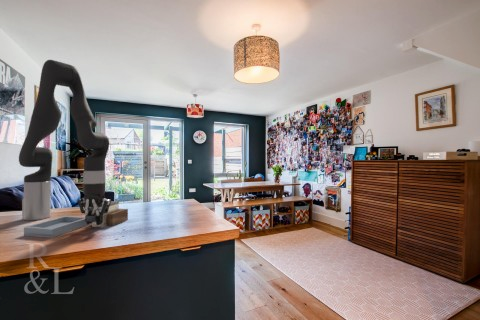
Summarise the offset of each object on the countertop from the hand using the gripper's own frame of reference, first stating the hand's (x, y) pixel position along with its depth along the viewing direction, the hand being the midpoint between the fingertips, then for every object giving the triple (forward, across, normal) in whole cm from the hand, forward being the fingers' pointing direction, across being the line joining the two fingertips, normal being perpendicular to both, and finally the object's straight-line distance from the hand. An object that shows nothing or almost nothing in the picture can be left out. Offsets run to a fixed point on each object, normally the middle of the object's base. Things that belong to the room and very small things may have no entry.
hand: (94, 223), depth 88 cm
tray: (+2, -12, -4) cm, 13 cm away
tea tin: (+2, 0, +4) cm, 5 cm away
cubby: (+2, 0, +8) cm, 8 cm away
